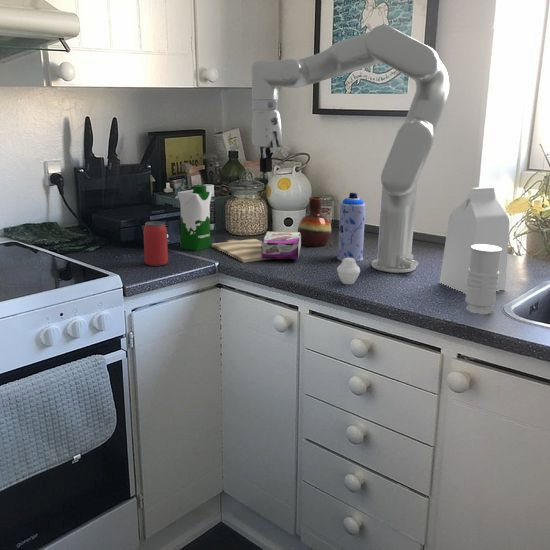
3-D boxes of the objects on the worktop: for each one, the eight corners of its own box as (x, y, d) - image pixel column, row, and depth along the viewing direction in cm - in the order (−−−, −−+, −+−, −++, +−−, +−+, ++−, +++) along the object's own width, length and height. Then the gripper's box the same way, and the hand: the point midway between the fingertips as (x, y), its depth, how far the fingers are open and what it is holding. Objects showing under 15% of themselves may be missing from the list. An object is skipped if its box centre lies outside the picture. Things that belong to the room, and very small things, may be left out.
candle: (465, 313, 142) (472, 250, 138) (462, 304, 149) (468, 243, 145) (496, 316, 141) (504, 252, 137) (492, 306, 148) (499, 245, 144)
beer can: (172, 263, 179) (171, 223, 176) (153, 268, 175) (152, 226, 171) (158, 259, 184) (157, 219, 180) (140, 263, 179) (138, 222, 176)
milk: (468, 295, 156) (479, 192, 148) (439, 282, 166) (448, 185, 158) (505, 290, 160) (518, 190, 153) (475, 278, 170) (485, 183, 163)
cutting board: (290, 256, 190) (290, 253, 190) (243, 262, 182) (243, 259, 182) (251, 240, 210) (251, 237, 210) (208, 245, 202) (208, 242, 202)
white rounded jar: (347, 287, 160) (348, 261, 158) (331, 281, 165) (332, 256, 163) (364, 283, 164) (365, 258, 162) (348, 278, 168) (350, 253, 167)
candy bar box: (261, 242, 182) (265, 230, 197) (261, 258, 183) (265, 246, 199) (299, 242, 181) (301, 231, 197) (299, 259, 182) (300, 246, 198)
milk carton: (196, 252, 193) (195, 188, 187) (175, 247, 198) (174, 185, 192) (215, 247, 200) (214, 185, 194) (194, 243, 205) (193, 182, 199)
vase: (295, 240, 211) (296, 195, 207) (327, 240, 212) (329, 195, 208) (299, 248, 201) (301, 200, 196) (333, 247, 202) (335, 200, 197)
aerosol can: (335, 255, 192) (337, 191, 187) (359, 255, 193) (363, 191, 187) (339, 262, 185) (343, 195, 179) (365, 261, 185) (369, 195, 180)
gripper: (290, 106, 171) (290, 173, 176) (263, 106, 184) (264, 168, 189) (267, 107, 168) (267, 175, 173) (241, 106, 180) (242, 170, 185)
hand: (266, 171), depth 181 cm, fingers closed
